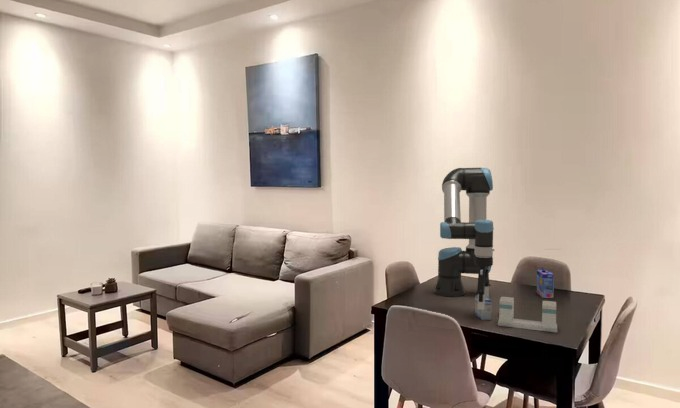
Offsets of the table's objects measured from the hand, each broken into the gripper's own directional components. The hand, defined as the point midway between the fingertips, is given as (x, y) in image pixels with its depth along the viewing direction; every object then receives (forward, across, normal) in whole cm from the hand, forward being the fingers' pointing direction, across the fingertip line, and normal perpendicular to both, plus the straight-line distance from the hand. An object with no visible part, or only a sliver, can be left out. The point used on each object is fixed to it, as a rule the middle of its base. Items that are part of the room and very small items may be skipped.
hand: (483, 305), depth 200 cm
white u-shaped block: (+6, -4, -18) cm, 19 cm away
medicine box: (+6, 0, 0) cm, 6 cm away
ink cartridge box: (+5, +48, -24) cm, 53 cm away
